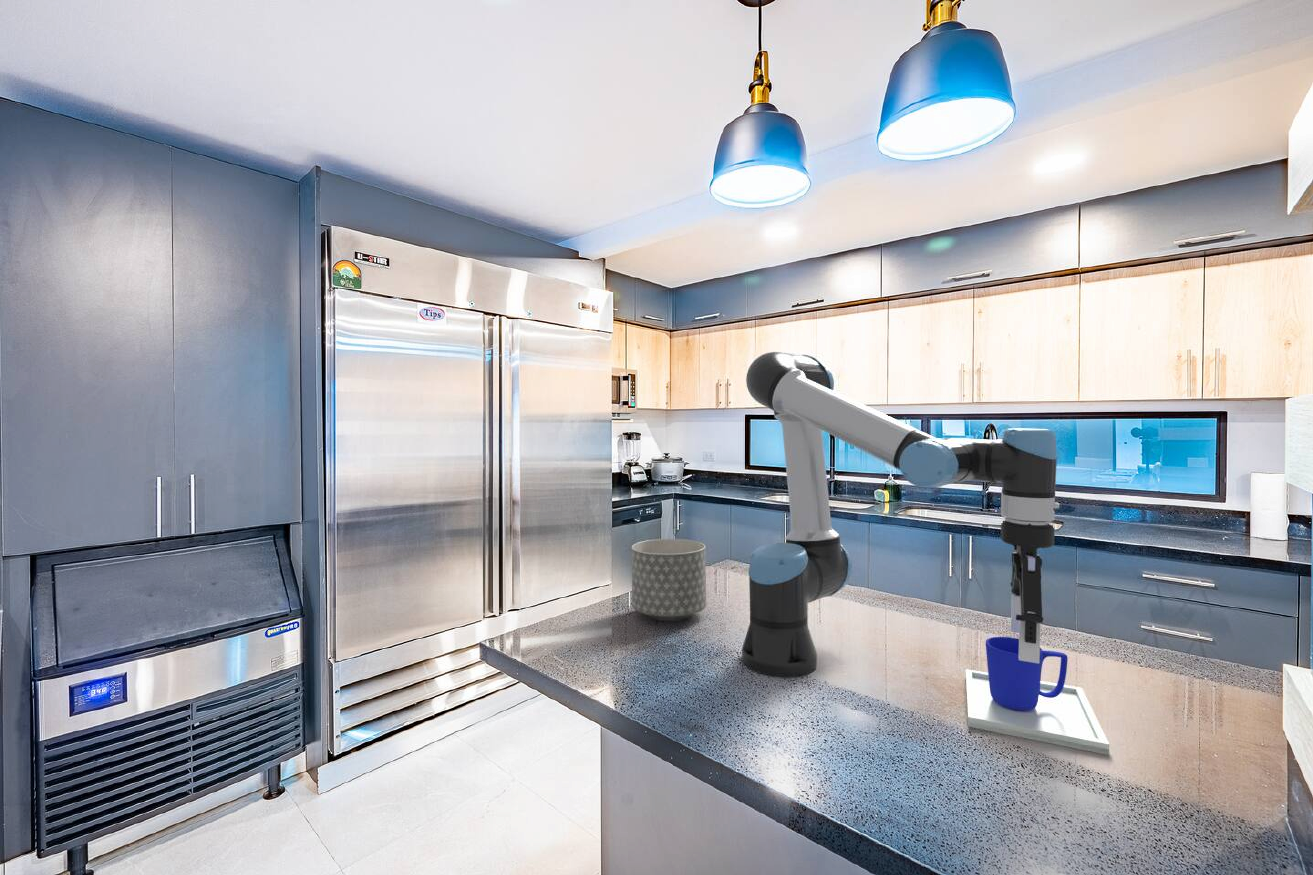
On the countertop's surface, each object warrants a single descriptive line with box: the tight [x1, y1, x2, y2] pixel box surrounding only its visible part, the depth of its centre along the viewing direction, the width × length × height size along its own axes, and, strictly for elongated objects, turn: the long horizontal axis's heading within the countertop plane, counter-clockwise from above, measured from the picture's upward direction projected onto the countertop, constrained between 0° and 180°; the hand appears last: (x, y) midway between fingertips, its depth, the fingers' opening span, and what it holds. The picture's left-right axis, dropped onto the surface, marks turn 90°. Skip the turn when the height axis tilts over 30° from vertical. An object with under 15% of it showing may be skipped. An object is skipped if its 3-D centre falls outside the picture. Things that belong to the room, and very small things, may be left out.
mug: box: [985, 636, 1069, 711], centre depth 96 cm, size 8×12×10 cm
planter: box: [631, 538, 707, 622], centre depth 147 cm, size 19×19×18 cm
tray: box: [965, 668, 1110, 756], centre depth 96 cm, size 18×20×2 cm
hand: (1023, 646), depth 96 cm, fingers open, 13 cm apart
